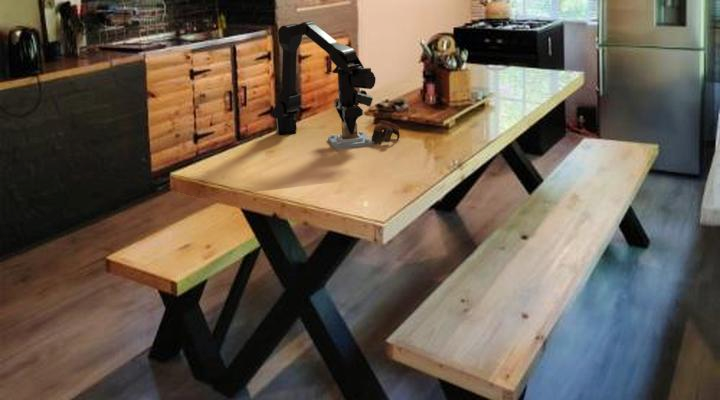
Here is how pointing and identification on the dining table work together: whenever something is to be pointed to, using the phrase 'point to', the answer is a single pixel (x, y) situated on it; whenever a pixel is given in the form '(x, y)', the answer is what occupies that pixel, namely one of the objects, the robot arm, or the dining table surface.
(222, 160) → the dining table surface
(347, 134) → the block
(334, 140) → the board
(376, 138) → the pottery mug
